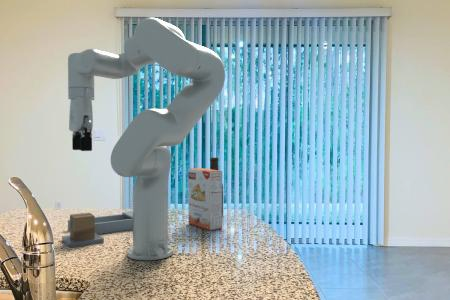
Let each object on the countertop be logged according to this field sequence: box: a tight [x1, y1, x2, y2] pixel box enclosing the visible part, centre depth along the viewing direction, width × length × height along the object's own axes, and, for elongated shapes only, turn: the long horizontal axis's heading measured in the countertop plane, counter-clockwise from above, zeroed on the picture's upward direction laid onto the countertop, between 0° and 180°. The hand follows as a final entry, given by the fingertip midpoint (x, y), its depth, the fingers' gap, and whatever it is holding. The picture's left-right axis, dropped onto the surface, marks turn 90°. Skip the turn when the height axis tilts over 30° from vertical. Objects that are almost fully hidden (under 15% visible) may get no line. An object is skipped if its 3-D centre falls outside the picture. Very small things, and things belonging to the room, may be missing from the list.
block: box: [69, 212, 96, 241], centre depth 120 cm, size 6×6×7 cm
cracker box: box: [187, 167, 223, 232], centre depth 141 cm, size 14×6×21 cm, turn 37°
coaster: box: [61, 233, 105, 248], centre depth 120 cm, size 10×10×1 cm
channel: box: [67, 210, 133, 235], centre depth 137 cm, size 11×25×4 cm, turn 125°
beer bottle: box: [209, 157, 224, 217], centre depth 161 cm, size 8×8×24 cm
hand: (81, 150), depth 119 cm, fingers open, 9 cm apart
